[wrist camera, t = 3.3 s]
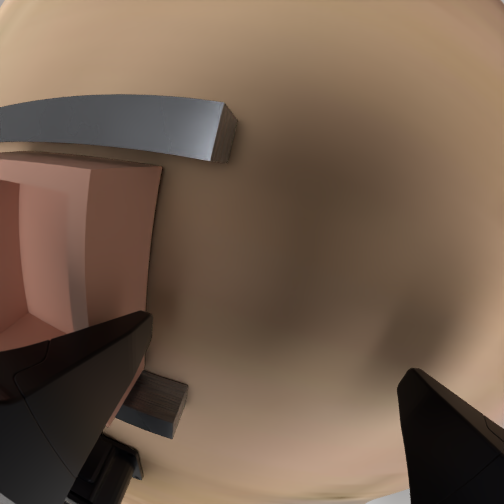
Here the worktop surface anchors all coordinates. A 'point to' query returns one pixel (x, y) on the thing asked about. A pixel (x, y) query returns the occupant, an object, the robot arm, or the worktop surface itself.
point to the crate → (72, 244)
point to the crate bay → (141, 138)
